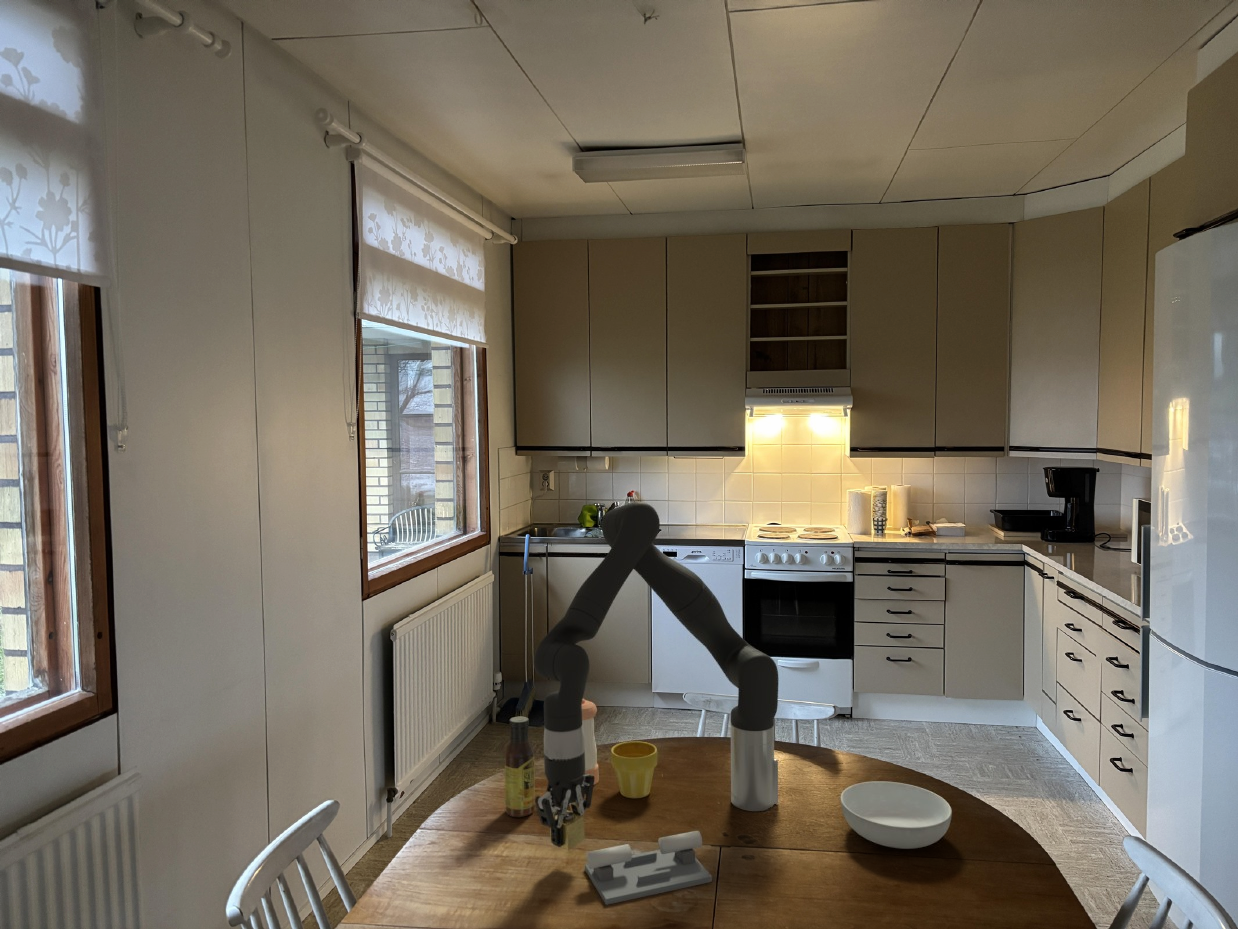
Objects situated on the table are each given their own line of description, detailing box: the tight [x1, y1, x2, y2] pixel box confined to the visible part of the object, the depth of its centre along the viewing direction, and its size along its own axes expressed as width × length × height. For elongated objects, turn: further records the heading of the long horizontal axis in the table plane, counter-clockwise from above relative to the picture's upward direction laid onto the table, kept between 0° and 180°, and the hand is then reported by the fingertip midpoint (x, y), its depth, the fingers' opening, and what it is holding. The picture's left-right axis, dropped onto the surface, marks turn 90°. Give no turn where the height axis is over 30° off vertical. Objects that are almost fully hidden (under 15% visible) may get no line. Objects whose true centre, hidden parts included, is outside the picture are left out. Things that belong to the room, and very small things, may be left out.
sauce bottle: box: [504, 715, 536, 818], centre depth 174 cm, size 7×6×20 cm
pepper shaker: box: [582, 698, 600, 786], centre depth 189 cm, size 7×7×19 cm
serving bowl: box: [840, 780, 953, 850], centre depth 162 cm, size 21×21×7 cm
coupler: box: [549, 809, 586, 851], centre depth 152 cm, size 4×4×5 cm
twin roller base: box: [584, 830, 713, 906], centre depth 148 cm, size 22×12×6 cm, turn 110°
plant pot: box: [610, 740, 658, 799], centre depth 183 cm, size 10×10×10 cm
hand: (567, 839), depth 152 cm, fingers closed on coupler, 4 cm apart
